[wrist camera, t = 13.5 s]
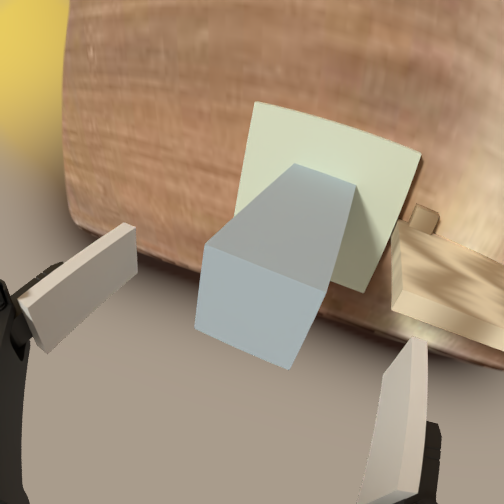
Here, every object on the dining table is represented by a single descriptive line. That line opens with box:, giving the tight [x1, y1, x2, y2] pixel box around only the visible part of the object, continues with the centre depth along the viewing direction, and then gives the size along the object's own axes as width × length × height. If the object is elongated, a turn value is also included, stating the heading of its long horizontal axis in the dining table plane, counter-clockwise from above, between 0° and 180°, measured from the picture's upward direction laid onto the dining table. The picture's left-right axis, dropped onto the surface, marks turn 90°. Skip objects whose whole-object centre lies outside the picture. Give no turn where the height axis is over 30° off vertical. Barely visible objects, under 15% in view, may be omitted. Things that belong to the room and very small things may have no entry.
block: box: [195, 163, 356, 370], centre depth 19 cm, size 5×5×14 cm
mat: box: [234, 101, 421, 293], centre depth 25 cm, size 13×13×1 cm
